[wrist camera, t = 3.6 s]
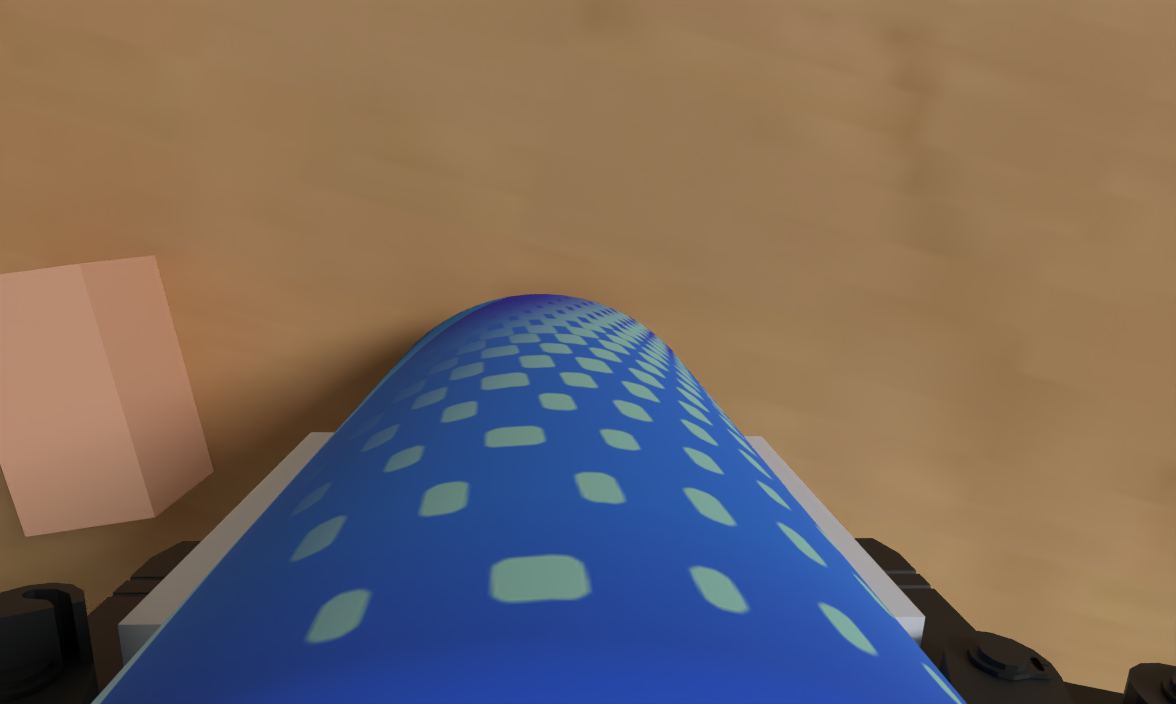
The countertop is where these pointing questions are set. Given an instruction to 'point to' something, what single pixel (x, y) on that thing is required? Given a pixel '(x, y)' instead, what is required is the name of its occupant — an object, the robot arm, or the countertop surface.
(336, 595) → the beer can
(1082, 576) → the countertop surface
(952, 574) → the countertop surface
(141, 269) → the terracotta brick
